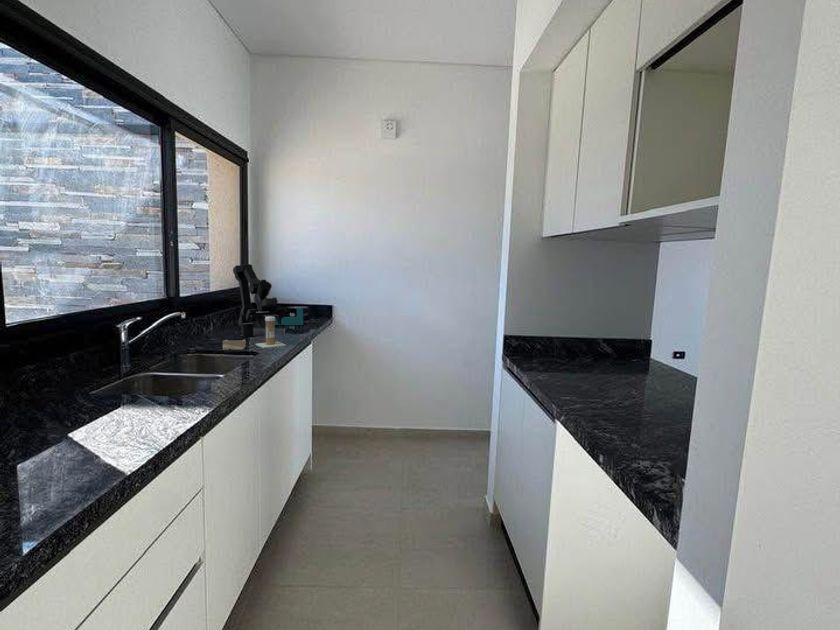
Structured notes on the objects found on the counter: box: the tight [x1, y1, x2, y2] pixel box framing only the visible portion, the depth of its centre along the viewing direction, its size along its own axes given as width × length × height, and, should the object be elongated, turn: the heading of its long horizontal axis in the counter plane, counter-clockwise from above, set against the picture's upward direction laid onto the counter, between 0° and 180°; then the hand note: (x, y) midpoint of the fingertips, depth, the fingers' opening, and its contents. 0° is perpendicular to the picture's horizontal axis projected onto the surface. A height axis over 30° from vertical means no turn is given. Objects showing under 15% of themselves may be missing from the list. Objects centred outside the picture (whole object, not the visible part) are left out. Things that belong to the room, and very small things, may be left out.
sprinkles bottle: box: [264, 316, 276, 345], centre depth 224 cm, size 5×5×13 cm
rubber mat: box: [255, 340, 287, 349], centre depth 224 cm, size 11×11×1 cm
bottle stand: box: [222, 339, 247, 351], centre depth 216 cm, size 6×9×4 cm, turn 101°
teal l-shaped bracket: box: [274, 308, 304, 326], centre depth 296 cm, size 18×11×10 cm, turn 106°
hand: (271, 327), depth 222 cm, fingers open, 9 cm apart
